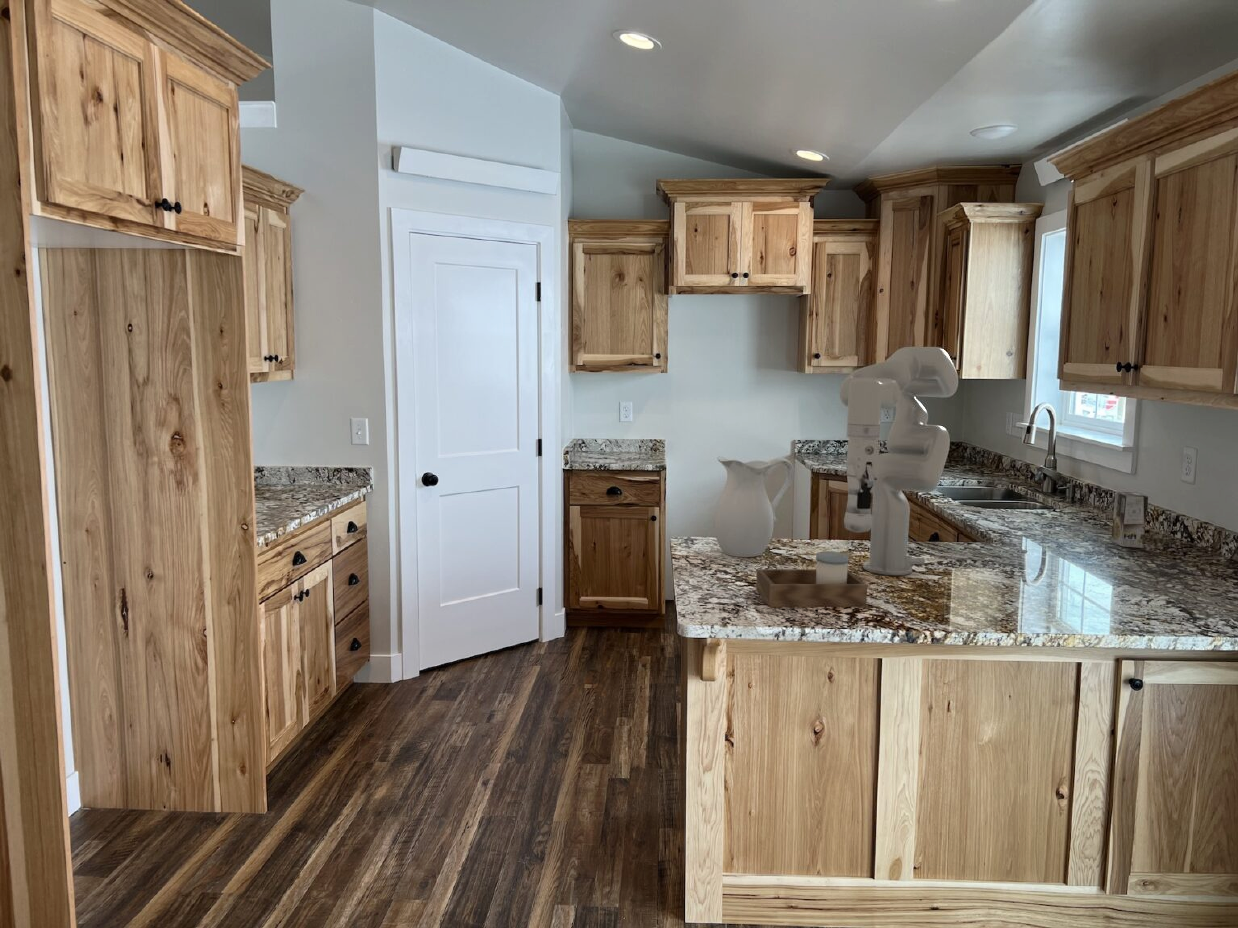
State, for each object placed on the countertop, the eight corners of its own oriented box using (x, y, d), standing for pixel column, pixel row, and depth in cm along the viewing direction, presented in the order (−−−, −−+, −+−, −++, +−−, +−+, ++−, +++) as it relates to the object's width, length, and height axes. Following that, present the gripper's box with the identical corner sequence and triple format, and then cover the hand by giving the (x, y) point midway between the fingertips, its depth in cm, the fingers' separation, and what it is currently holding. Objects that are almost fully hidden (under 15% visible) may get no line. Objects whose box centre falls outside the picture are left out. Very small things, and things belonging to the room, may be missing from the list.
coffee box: (1144, 548, 259) (1149, 496, 257) (1121, 546, 260) (1126, 495, 258) (1132, 541, 268) (1137, 491, 266) (1110, 540, 269) (1115, 490, 267)
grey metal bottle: (850, 528, 209) (853, 447, 206) (876, 531, 205) (880, 450, 202) (838, 532, 204) (842, 450, 201) (865, 536, 200) (869, 452, 197)
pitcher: (726, 561, 234) (729, 461, 230) (704, 547, 250) (707, 454, 246) (804, 557, 240) (809, 460, 236) (778, 544, 256) (781, 453, 252)
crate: (845, 593, 204) (846, 569, 203) (866, 610, 190) (867, 585, 189) (755, 593, 203) (756, 569, 202) (770, 611, 189) (771, 585, 188)
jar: (840, 593, 201) (842, 551, 199) (851, 602, 193) (853, 558, 192) (810, 593, 200) (812, 551, 199) (819, 602, 193) (821, 558, 191)
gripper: (892, 435, 193) (887, 513, 195) (865, 428, 210) (861, 500, 212) (860, 435, 192) (856, 513, 195) (836, 428, 209) (832, 500, 212)
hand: (859, 505), depth 203 cm, fingers closed on grey metal bottle, 5 cm apart
